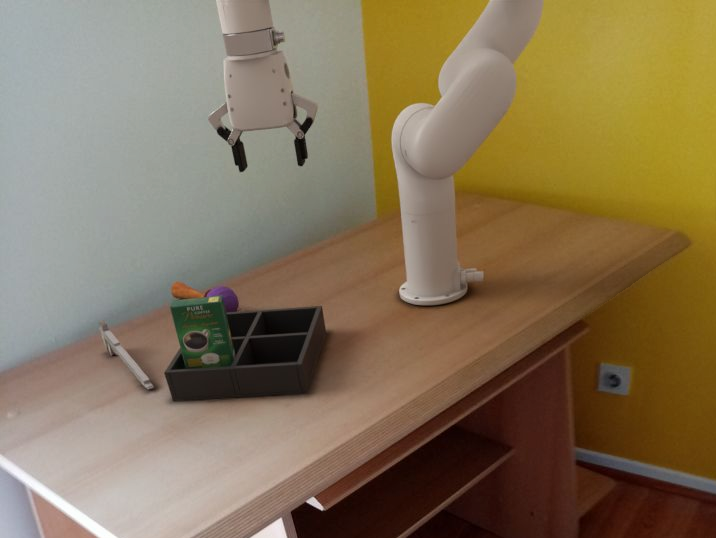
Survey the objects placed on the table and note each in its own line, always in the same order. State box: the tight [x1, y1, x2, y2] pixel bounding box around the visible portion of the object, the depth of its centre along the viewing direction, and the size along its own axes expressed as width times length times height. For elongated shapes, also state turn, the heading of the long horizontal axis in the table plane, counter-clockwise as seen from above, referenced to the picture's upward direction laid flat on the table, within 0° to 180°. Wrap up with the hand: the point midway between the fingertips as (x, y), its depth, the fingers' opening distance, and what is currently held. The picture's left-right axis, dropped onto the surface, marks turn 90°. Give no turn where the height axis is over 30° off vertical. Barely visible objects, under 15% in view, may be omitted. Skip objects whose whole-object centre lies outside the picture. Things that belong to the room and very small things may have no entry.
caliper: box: [98, 320, 154, 391], centre depth 127 cm, size 20×1×6 cm, turn 35°
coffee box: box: [169, 295, 236, 369], centre depth 118 cm, size 8×3×13 cm, turn 92°
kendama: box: [170, 281, 240, 313], centre depth 146 cm, size 6×6×20 cm
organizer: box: [163, 305, 327, 402], centre depth 124 cm, size 21×21×5 cm
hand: (272, 167), depth 123 cm, fingers open, 9 cm apart
